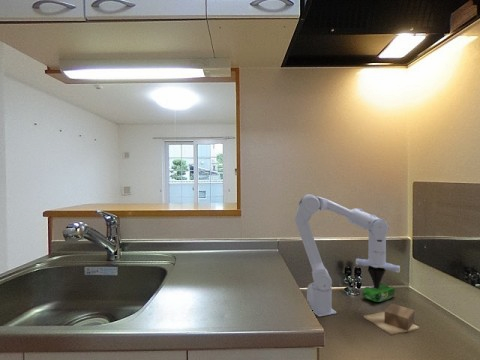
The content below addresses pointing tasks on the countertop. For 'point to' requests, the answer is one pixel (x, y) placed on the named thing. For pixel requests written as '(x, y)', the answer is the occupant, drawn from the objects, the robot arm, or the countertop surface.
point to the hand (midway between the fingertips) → (376, 287)
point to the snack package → (378, 292)
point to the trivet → (380, 322)
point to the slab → (399, 316)
